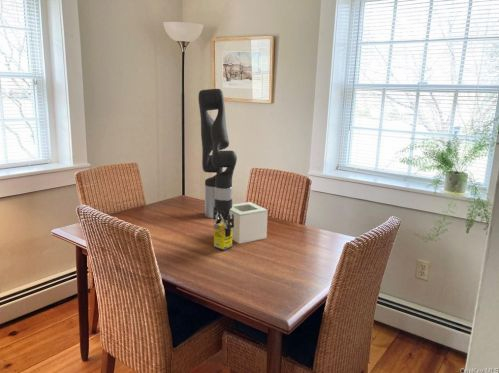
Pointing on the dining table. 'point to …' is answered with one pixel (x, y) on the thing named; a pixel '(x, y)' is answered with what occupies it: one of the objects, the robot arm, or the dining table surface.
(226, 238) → the supplement box
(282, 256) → the dining table surface
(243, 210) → the storage box
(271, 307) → the dining table surface
